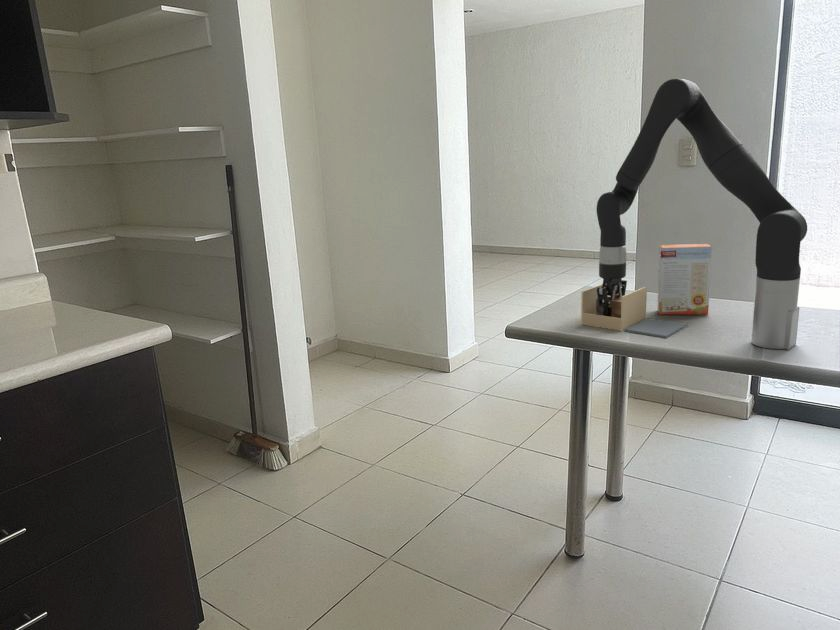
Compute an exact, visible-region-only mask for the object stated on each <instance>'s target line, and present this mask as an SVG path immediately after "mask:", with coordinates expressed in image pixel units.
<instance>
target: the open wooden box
mask: <svg viewBox="0 0 840 630" xmlns="http://www.w3.org/2000/svg"><path fill="white" fill-rule="evenodd" d="M602 284H603V283H602ZM602 284H598V285H595V286H593V287H591V288H588V289H585V290H582V291H581V300H580V301H581V302H580V303H581V307H580V309H581V311H580V312H581V313H580V315H581V317H580V318H581V319H580V320H581V321H580V322H581V323H580V325H583V326H589V327H596V328H600V327H601V329H606V328H608V329H607V330H612V329H613V331H619V332H623V331H624V330H625V329H626V328H628V327H630V326H632V325H634V324H636V323H638V322H640V321H642V320H644V319H646V318H647V295H648V294H647V293H648V287H647V286H643V287H641V288H639V289H636V290H634V291H631V292H628V293H627V294H626V293H625V295H624V296H621V318H615V317H608V316H601V315H596V299H597V298H598V295H597V288H598V287H599V288H601V287H602ZM624 332H625V331H624Z"/></svg>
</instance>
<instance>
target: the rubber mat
mask: <svg viewBox="0 0 840 630" xmlns="http://www.w3.org/2000/svg"><path fill="white" fill-rule="evenodd" d="M686 326H687V327H688V326H689V324H688V323H684V322H676V321H671V320H663V319H657V318H649V317H648V318H647V317H646V319H644V320H642V321H640V322H638V323H636V324H634V325H632V326H630V327H628V328H626V329H625V330H624V332H628V333H632V334H633V333H634V334H640V335H646V336H651V337H657V338H663V339H664V338H665V339H667V338H669V337H671V336H673V335H675V334H676V333H678V332H680V331H682V330H683V329H684V327H685V328H687V327H686ZM679 330H680V331H679ZM677 331H678V332H677ZM675 332H676V333H675ZM672 334H673V335H672Z"/></svg>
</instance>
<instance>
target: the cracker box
mask: <svg viewBox="0 0 840 630" xmlns="http://www.w3.org/2000/svg"><path fill="white" fill-rule="evenodd" d="M711 264H712V246H711V245H710V244H708V243H689V244H687V243H686V244H685V243H683V244H682V243H680V244H660V245H659V246H658V277H657V278H658V279H657V280H658V281H657V282H658V283H657V312H658V315H661V316H663V315H665V316H668V315H669V316H670V315H678V316H679V315H681V316H683V315H690V316H691V315H692V316H693V315H694V316H696V315H697V316H700V315H701V316H703V315H704V316H707V315H709V308H710V307H709V306H710V304H709V302H710V286H711V285H710V284H711V283H710V282H711V269H712V268H711V267H712V265H711Z"/></svg>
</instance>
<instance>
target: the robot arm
mask: <svg viewBox="0 0 840 630" xmlns="http://www.w3.org/2000/svg"><path fill="white" fill-rule="evenodd" d="M675 120H678V121H679V122H680V123H681V125H683V127H684V128H685V129H686V131H688V133H689V134H690V135H691V136H692V138H693V140H694V142H695V144H696V147H697V150H698V152H699V154H700V157H701V159H702V161H703V163H704V165H705V166H706V167H707V169H708V170H709V172H710V173H711V174H712V176H714V178H715V179H716V181H718V183H719V184H720V185H721V186H722V187H723V188H725V190H726V191H727V192H729V193H730V194H732V196H734V197H736V198H737V199H738V200H740V202H742V203H743V204H744V205H745V206H747V207H748V209H750V211H751V212H752V214H753V215H754V216H755V218H756V219H757V221H758V222H759V225H758V228H757V233H756V242H755V243H756V245H755V260H754V261H755V267H756V280H755V292H754V304H753V315H752V318H753V319H752V328H751V329H752V330H751V344H753V345H754V346H756V347H760V348H764V349H770V350H771V349H772V350H791V349H792V348H793V347H794V346H795V345H796V344H797V339H798V328H799V326H798V325H799V318H800V306H798V303H799V290H800V281H801V272H802V268H801V265H800V252H801V242H802V241H803V240H804V239H805V237H806V236H807V232H808V223H807V220H806V218H805V217H804V215H803V214H802V213H801V212H800V211H798V209H796V208H795V206H794V205H792V203H790V202H789V201H788V200H787V199H786V198H785V197H784V196H783V195H782V193H780V191H778V189H776V187H775V186H774V184H773V183H772V182H771V180H770V179H769V177H768V175H767V174H766V173H765V171H764V170H763V169H762V168H761V166H760V164H758V162H757V161H756V159H755V158H754V157H753V155H752V153H750V151H749V150H748V149H747V148H746V147H745V145H743V143H742V142H741V140H740V139H739V138H738V137H737V136H736V135H735V133H733V131H732V130H731V129H730V128H729V127H728V126H727V125H726V124H725V123H724V122H723V121H722V120H721V118H720V117H719V116H717V114H716V113H715V111H714V110H713V108H712V106H711V105H710V103H709V102H708V100H707V99H706V96H704V94H703V92H702V91H701V89H700V88H699V86H698V85H697V84H696V83H695V82H693V81H692V80H690V79H683V78H671V79H668V80H666V81H665V82H663V83H662V84H660V86H659V88H658V89H657V90H656V93H655V95H654V98H653V100H652V102H651V105H650V107H649V110H648V113H647V115H646V118H645V121H644V122H643V124H642V127H641V129H640V131H639V134H638V136H637V137H636V139H635V142H634V143H633V145H632V147H631V148H630V151H629V152H628V153H627V156H625V157H626V158H625V159H624V161H623V162H622V164H621V166H620V168H619V170H618V172H617V173H616V176H615V181H616V184H615V186H614V188H613V190H612V191H608V192H605V193H602V194H601V195H600V197H598V200H597V203H596V216H597V222H598V226H599V227H598V228H599V230H600V235H599V236H600V239H599V240H600V243H599V245H600V246H599V255H598V276H599V278H601V279H602V287H601V288H599V287H598V288H597V295H598V303H599V306H602V307H603V316H608V317H611V305H612V300H614V297H617V298H621V296H624V295H626V290H627V285H628V284H627V283H628V281H627V280H624V279H623V278H625V277H626V275H627V248H626V247H627V246H626V242H627V240H626V239H627V231H626V230H627V229H626V227H625V226H624V225H622V222H621V221H622V220H621V215H624V214H626V212H627V211H629V209H630V207H631V206H632V204H633V203H634V200H635V198H636V195H637V193H638V190H639V187H640V186H641V184H642V182H643V181H644V179H645V177H646V176H647V174H648V173H649V171H650V169H651V167H652V165H653V164H654V162H655V159H656V156H657V153H658V150H659V147H660V145H661V141H662V140H663V138H664V136H665V134H666V133H667V131H668V130H669V128H670V126H671V125H673V123H674V122H675ZM607 296H609V297H607ZM608 299H609V303H608ZM602 300H603V301H602Z"/></svg>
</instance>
